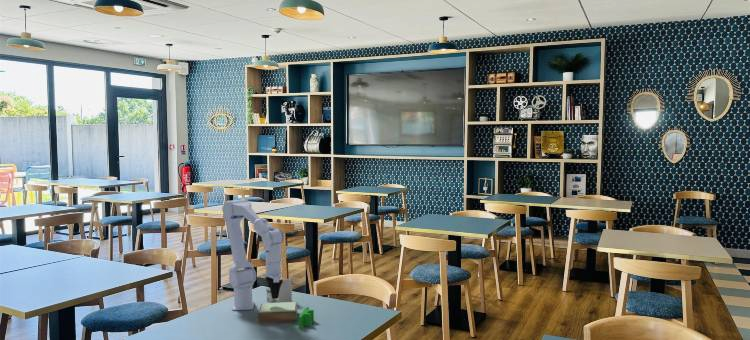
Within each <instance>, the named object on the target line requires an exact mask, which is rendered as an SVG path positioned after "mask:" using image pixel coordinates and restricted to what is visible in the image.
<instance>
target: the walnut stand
mask: <svg viewBox="0 0 750 340" xmlns="http://www.w3.org/2000/svg"><path fill="white" fill-rule="evenodd" d="M257 317H258V324H280V323H281V324H282V323H296V322H298V321H297V320H298V302H296V301H292V302H281V303H268V302H261V304H260V306H259V310H258V316H257Z"/></svg>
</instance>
